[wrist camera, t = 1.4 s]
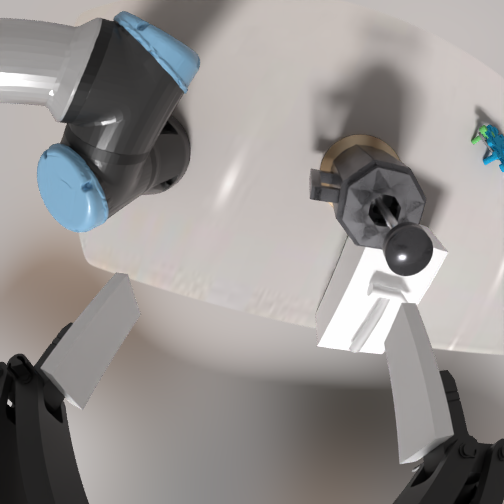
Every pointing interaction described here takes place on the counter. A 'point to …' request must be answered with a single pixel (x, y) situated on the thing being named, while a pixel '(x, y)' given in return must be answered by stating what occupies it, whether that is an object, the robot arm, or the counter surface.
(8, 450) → the robot arm
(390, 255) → the plunger
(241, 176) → the counter surface
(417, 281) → the tissue box
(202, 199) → the counter surface
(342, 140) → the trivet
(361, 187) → the carafe
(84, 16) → the counter surface
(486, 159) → the gear
